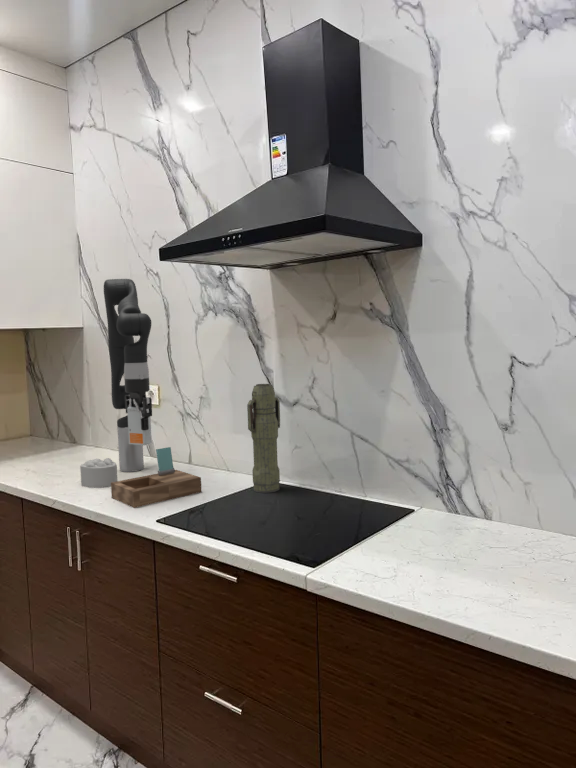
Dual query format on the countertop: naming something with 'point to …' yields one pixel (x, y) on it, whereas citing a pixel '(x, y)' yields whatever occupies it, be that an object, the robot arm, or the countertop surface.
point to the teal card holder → (165, 461)
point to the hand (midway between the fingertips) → (139, 428)
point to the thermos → (264, 437)
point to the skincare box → (137, 428)
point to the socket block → (155, 488)
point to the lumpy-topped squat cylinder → (98, 473)
